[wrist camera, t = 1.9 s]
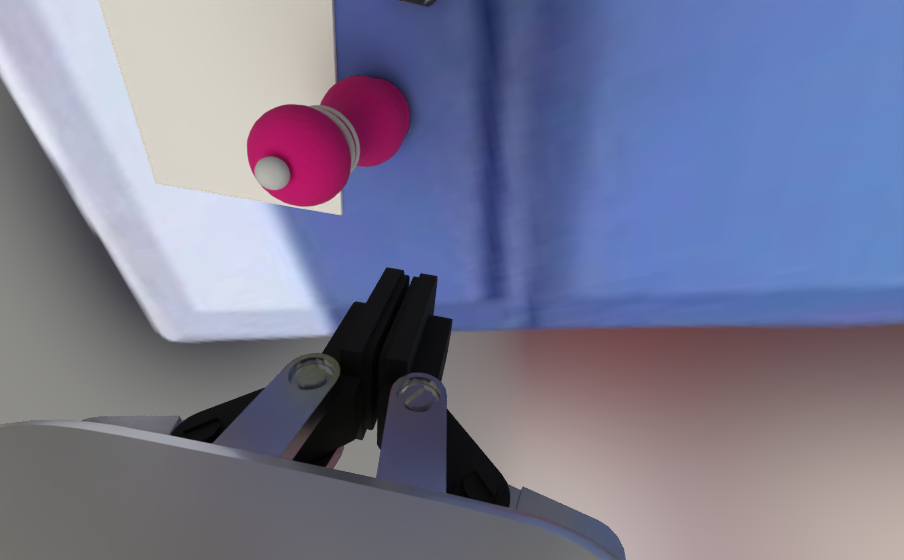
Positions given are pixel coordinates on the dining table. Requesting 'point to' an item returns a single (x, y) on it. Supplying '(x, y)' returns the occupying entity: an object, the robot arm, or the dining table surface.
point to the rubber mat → (219, 81)
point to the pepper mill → (327, 140)
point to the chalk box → (421, 2)
